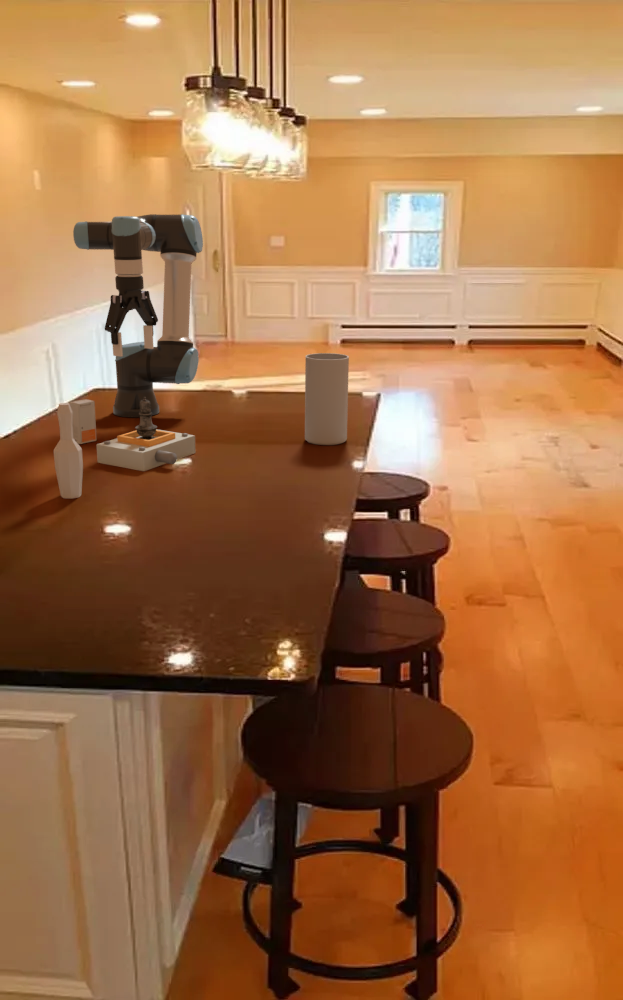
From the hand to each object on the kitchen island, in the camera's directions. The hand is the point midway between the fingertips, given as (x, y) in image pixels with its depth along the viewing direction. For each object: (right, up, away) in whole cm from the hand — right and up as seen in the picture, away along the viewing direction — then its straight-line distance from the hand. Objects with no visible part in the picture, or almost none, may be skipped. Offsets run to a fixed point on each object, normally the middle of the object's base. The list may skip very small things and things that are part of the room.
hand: (133, 352), depth 248 cm
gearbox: (+8, -31, -10) cm, 33 cm away
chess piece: (+6, -26, -10) cm, 28 cm away
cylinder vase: (+55, -24, +12) cm, 61 cm away
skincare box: (-16, -25, +8) cm, 31 cm away
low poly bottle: (-6, -41, -41) cm, 59 cm away
